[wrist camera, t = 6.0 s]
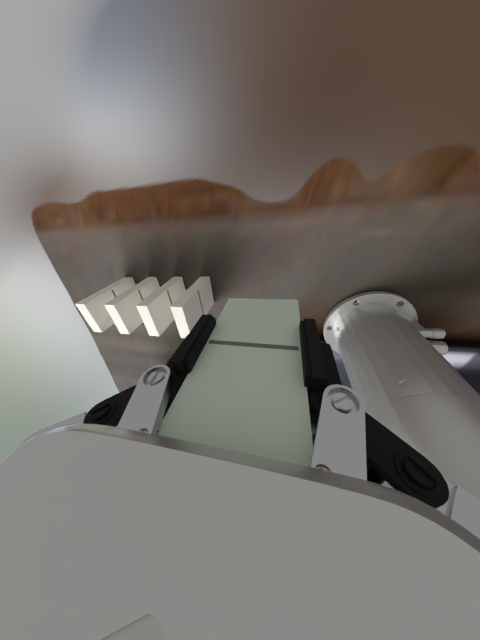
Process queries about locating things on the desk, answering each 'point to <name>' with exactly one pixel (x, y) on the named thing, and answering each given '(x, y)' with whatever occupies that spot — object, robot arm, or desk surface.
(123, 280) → the domino
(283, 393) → the domino
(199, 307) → the domino
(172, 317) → the domino
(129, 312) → the domino
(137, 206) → the desk surface
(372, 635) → the robot arm
